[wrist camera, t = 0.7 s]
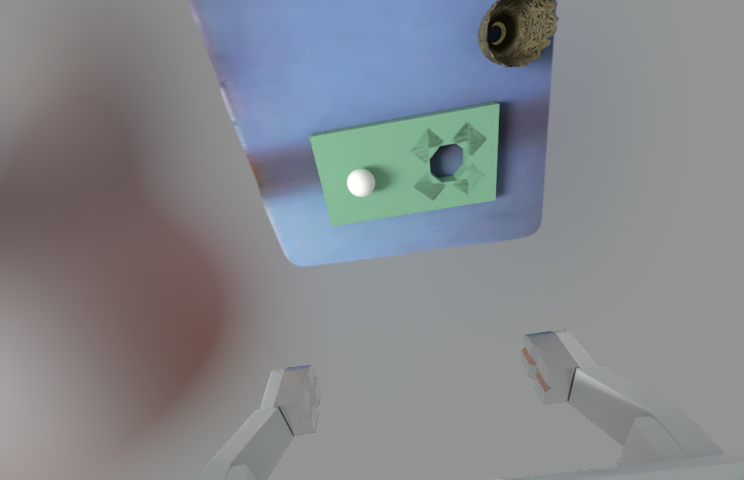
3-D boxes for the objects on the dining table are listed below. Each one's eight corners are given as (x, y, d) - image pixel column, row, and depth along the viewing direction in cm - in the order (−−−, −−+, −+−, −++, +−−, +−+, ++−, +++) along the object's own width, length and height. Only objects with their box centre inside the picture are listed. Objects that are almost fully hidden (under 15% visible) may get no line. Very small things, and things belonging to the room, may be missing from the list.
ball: (345, 167, 45) (343, 176, 41) (372, 162, 44) (373, 171, 41) (350, 193, 47) (349, 203, 43) (376, 188, 46) (377, 198, 43)
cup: (530, -3, 37) (568, -19, 30) (517, 66, 41) (548, 67, 34) (469, -3, 37) (494, -18, 30) (461, 67, 41) (481, 68, 34)
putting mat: (312, 133, 45) (309, 137, 42) (492, 101, 43) (499, 103, 41) (333, 219, 51) (332, 226, 49) (489, 194, 50) (495, 200, 48)
